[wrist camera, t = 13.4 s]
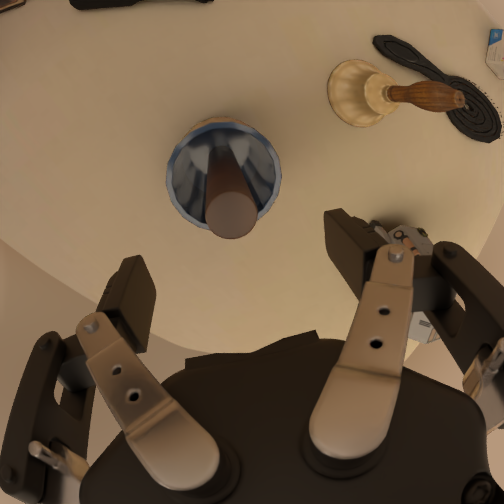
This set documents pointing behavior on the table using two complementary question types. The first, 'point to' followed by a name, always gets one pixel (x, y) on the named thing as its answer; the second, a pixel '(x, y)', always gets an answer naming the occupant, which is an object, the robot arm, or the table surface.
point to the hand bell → (382, 94)
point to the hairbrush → (474, 97)
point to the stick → (228, 196)
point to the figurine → (420, 246)
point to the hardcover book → (10, 4)
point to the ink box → (496, 52)
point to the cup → (196, 165)
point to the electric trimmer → (107, 3)
